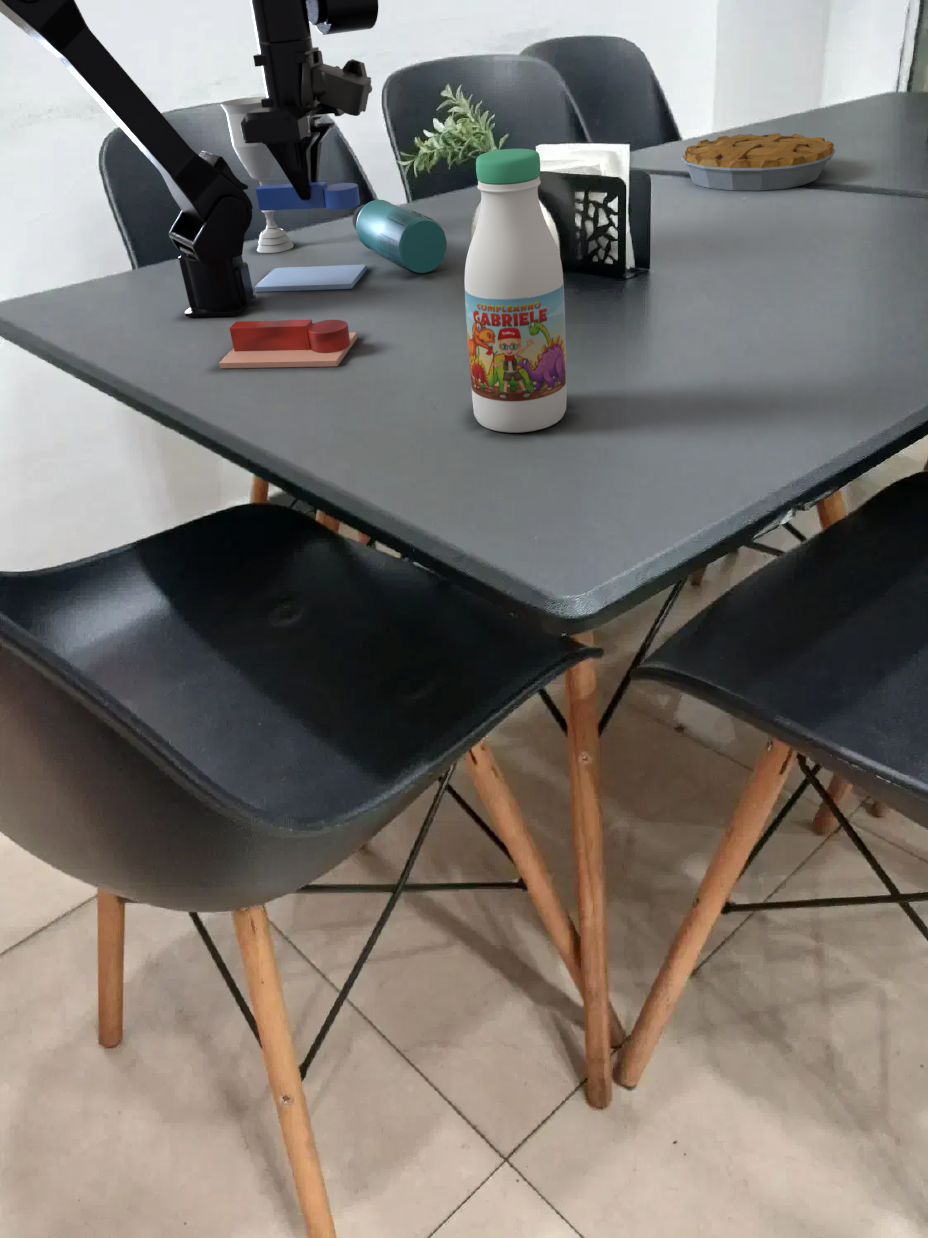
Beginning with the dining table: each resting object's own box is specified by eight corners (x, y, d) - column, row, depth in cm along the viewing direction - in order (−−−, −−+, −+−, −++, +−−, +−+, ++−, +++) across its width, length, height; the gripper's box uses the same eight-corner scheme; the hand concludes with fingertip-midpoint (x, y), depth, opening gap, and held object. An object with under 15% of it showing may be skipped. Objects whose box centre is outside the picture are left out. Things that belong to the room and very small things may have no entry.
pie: (805, 196, 133) (810, 157, 131) (657, 189, 144) (658, 152, 141) (850, 164, 148) (855, 127, 145) (712, 159, 158) (714, 125, 156)
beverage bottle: (430, 207, 111) (365, 180, 126) (392, 252, 112) (332, 220, 127) (464, 247, 116) (397, 216, 131) (428, 290, 116) (365, 254, 131)
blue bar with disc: (256, 212, 112) (252, 190, 110) (267, 204, 115) (263, 182, 113) (355, 208, 110) (352, 185, 108) (363, 200, 113) (361, 178, 111)
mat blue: (255, 291, 116) (254, 286, 116) (275, 272, 123) (275, 267, 123) (351, 288, 114) (350, 283, 114) (367, 269, 121) (366, 264, 120)
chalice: (239, 253, 132) (209, 105, 122) (265, 240, 137) (238, 97, 127) (285, 255, 129) (258, 103, 119) (310, 241, 134) (287, 95, 124)
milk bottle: (469, 402, 84) (449, 149, 72) (558, 393, 84) (552, 138, 72) (478, 440, 77) (457, 168, 66) (574, 429, 78) (570, 157, 66)
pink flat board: (220, 368, 96) (218, 362, 95) (247, 340, 102) (246, 334, 102) (337, 366, 94) (336, 360, 93) (357, 337, 100) (356, 331, 100)
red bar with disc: (230, 354, 97) (225, 331, 95) (244, 340, 100) (239, 317, 99) (344, 352, 95) (341, 328, 93) (354, 338, 98) (351, 314, 97)
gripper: (333, 43, 94) (355, 214, 103) (379, 26, 109) (395, 177, 118) (224, 51, 96) (256, 218, 105) (284, 33, 111) (307, 181, 120)
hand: (309, 197), depth 112 cm, fingers closed on blue bar with disc, 2 cm apart
